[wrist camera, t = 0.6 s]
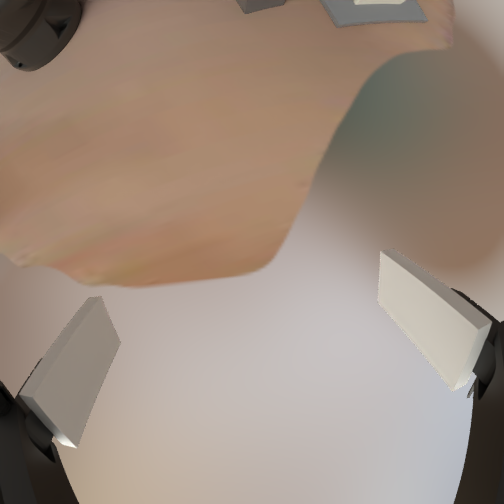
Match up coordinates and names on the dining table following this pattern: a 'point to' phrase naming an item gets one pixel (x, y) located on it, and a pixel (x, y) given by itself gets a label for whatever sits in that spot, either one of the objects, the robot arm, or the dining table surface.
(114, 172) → the dining table surface
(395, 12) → the socket tray
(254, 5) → the plug block
